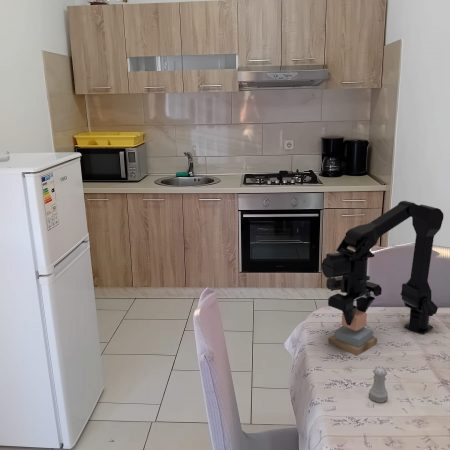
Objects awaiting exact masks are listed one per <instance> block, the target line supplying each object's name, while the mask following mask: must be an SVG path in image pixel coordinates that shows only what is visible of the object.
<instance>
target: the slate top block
mask: <svg viewBox="0 0 450 450" xmlns="http://www.w3.org/2000/svg"><path fill="white" fill-rule="evenodd" d="M373 333H374V330H373V329H370V328H367V327H366V326H365V327H363V328H361V329H359V330H357V331H355V330H352V329H350V328H347V327H345V326H343V325H341V326H340V327H339V328H337V329H335V330H334V335H335V338H334V339H337V340H339V341H342V342H345V343H347V344H350V345H353V346H355V347H358V348H359V347H360V346H362V345H363V344H365V343H366V342H367V341H369V340H370V339H372V337H374V336H373Z"/></svg>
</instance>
